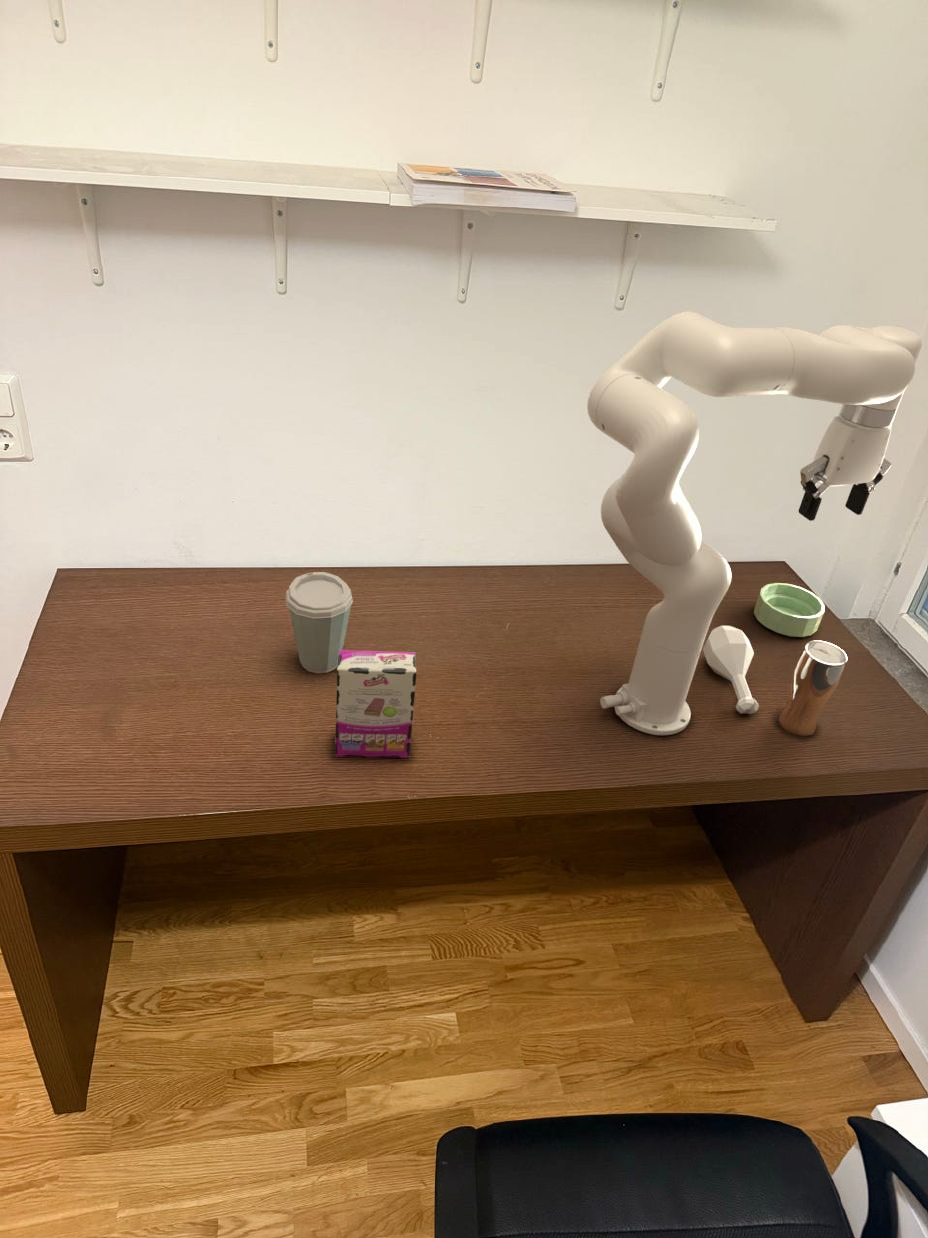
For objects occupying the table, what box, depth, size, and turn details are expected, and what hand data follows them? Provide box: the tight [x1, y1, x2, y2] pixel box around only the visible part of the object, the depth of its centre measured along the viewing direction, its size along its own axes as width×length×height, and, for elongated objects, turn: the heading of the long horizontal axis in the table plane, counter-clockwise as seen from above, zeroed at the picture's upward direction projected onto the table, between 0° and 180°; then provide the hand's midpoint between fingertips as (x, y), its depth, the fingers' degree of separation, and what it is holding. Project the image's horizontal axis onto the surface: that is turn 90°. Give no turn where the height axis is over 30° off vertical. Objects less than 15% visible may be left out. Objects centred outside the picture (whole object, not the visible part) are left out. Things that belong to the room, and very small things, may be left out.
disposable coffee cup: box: [285, 571, 354, 675], centre depth 147 cm, size 11×11×15 cm
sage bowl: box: [753, 582, 826, 638], centre depth 177 cm, size 12×12×5 cm
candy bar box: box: [334, 649, 417, 759], centre depth 132 cm, size 11×5×16 cm, turn 95°
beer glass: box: [777, 640, 848, 737], centre depth 148 cm, size 7×7×15 cm
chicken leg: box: [702, 625, 760, 715], centre depth 157 cm, size 8×18×8 cm, turn 5°
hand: (829, 513), depth 145 cm, fingers open, 9 cm apart
